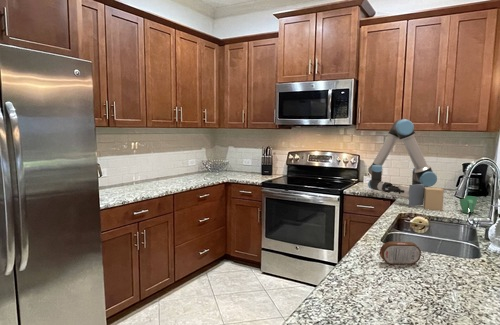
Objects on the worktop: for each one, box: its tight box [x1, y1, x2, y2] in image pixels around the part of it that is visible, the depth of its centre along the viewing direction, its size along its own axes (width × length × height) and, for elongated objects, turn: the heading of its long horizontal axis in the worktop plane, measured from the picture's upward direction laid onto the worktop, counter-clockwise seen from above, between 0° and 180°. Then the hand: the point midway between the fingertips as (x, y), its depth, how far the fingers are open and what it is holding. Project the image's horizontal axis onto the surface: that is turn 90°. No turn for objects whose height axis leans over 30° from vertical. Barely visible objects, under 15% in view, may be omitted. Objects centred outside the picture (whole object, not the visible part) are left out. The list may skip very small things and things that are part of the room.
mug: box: [459, 195, 478, 214], centre depth 209 cm, size 15×10×10 cm
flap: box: [397, 184, 424, 207], centre depth 231 cm, size 12×13×14 cm
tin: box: [379, 241, 422, 266], centre depth 126 cm, size 15×3×8 cm, turn 90°
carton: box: [422, 186, 445, 212], centre depth 221 cm, size 10×10×14 cm
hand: (410, 192), depth 227 cm, fingers closed on flap, 4 cm apart
